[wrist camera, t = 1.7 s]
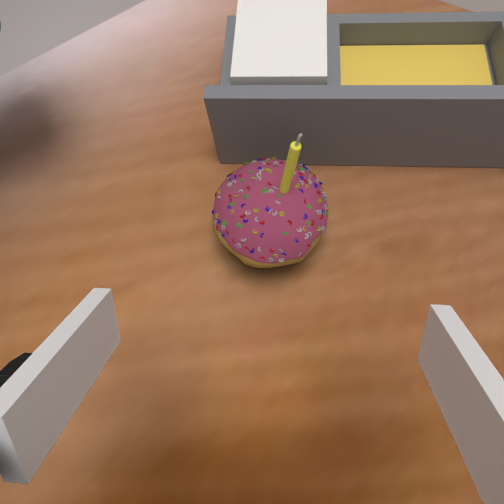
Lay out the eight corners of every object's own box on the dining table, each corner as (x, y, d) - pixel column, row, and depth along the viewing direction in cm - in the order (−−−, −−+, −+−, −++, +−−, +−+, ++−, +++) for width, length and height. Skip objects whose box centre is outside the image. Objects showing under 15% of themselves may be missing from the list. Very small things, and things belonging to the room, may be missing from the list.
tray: (220, 163, 34) (203, 98, 26) (232, 48, 39) (221, -35, 31) (516, 168, 32) (592, 99, 24) (491, 46, 37) (548, -44, 29)
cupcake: (288, 175, 33) (293, 67, 22) (342, 251, 30) (380, 172, 19) (203, 220, 32) (164, 131, 21) (251, 303, 29) (236, 252, 18)
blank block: (239, 137, 33) (230, 76, 27) (246, 53, 37) (240, -19, 30) (317, 138, 33) (327, 76, 26) (317, 52, 36) (326, -21, 30)
